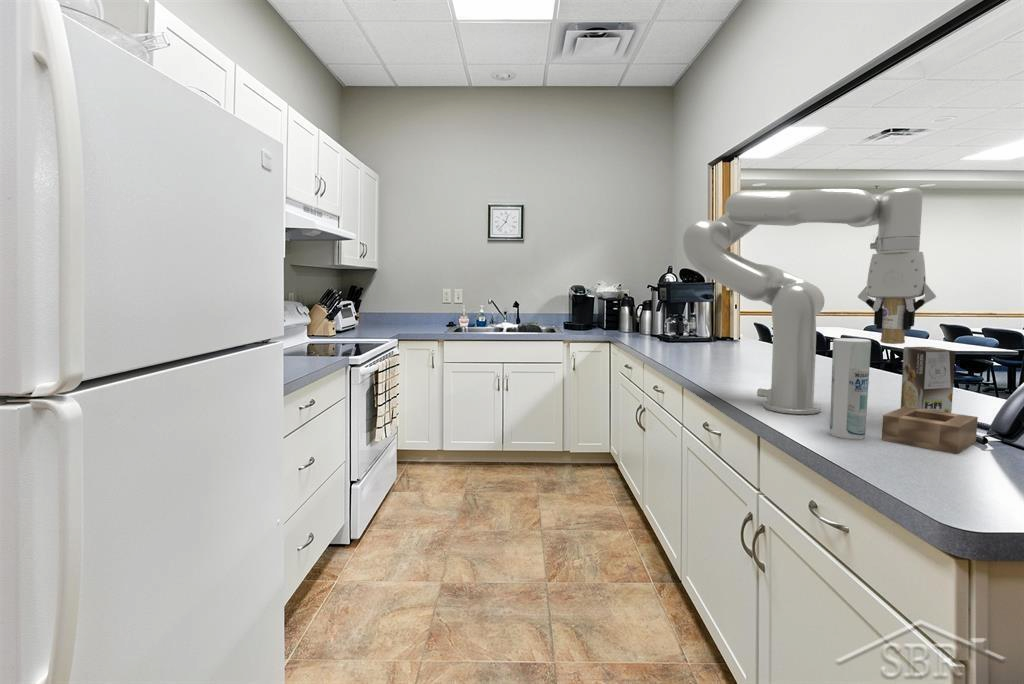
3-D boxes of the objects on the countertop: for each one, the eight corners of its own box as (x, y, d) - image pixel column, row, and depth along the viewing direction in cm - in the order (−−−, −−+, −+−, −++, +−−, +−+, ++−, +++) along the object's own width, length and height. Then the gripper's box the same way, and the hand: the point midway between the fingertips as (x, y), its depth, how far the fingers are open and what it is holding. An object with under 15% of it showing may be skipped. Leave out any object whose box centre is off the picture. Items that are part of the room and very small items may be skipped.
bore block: (881, 439, 106) (882, 415, 105) (903, 429, 113) (904, 406, 112) (957, 454, 96) (959, 427, 96) (975, 441, 103) (977, 416, 103)
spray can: (841, 429, 114) (845, 337, 112) (872, 436, 108) (878, 339, 106) (822, 433, 111) (826, 339, 109) (853, 441, 105) (858, 341, 103)
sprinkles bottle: (875, 342, 120) (878, 283, 119) (892, 341, 121) (895, 283, 119) (893, 344, 115) (896, 283, 114) (910, 343, 116) (914, 282, 115)
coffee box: (952, 421, 119) (957, 350, 117) (921, 420, 120) (926, 350, 118) (926, 411, 128) (931, 346, 126) (898, 411, 129) (902, 346, 127)
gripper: (848, 248, 120) (845, 328, 122) (942, 243, 107) (937, 332, 109) (859, 249, 125) (855, 326, 127) (950, 244, 112) (945, 330, 114)
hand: (893, 328), depth 118 cm, fingers closed on sprinkles bottle, 4 cm apart
